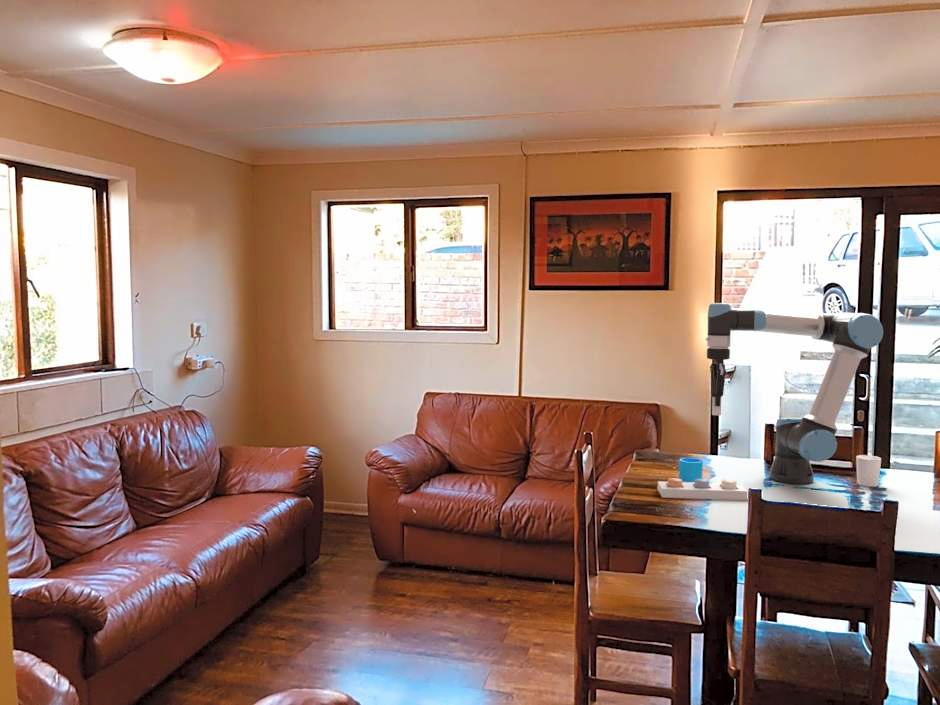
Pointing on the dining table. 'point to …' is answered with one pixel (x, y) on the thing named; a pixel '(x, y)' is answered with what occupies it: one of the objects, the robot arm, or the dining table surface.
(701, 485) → the button slate
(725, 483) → the button cream
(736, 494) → the button panel
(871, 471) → the white cup
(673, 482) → the button terracotta
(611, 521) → the dining table surface
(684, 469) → the mug
